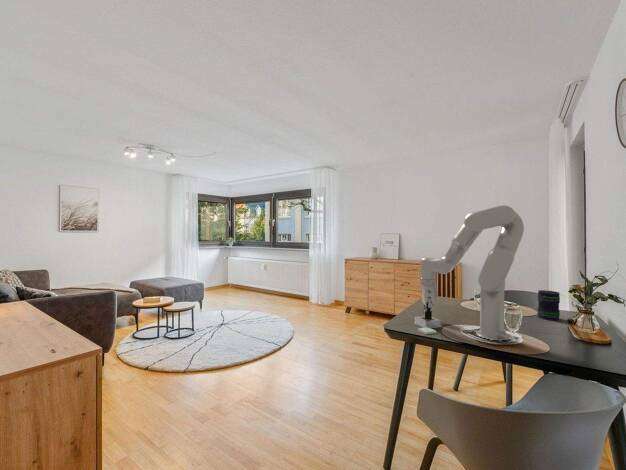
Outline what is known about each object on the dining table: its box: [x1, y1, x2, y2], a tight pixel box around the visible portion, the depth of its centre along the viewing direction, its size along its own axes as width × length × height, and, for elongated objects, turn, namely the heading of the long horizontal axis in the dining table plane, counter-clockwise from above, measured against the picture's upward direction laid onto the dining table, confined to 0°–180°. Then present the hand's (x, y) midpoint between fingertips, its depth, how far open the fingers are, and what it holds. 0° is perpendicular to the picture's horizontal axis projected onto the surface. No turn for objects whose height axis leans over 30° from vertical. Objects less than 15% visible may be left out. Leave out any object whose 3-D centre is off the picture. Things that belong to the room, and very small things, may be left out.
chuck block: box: [414, 315, 442, 329], centre depth 157 cm, size 12×9×4 cm
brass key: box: [423, 303, 431, 320], centre depth 156 cm, size 4×4×10 cm
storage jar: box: [537, 289, 561, 322], centre depth 171 cm, size 10×10×15 cm
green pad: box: [417, 327, 437, 335], centre depth 145 cm, size 6×6×1 cm
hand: (427, 317), depth 156 cm, fingers closed on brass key, 3 cm apart
